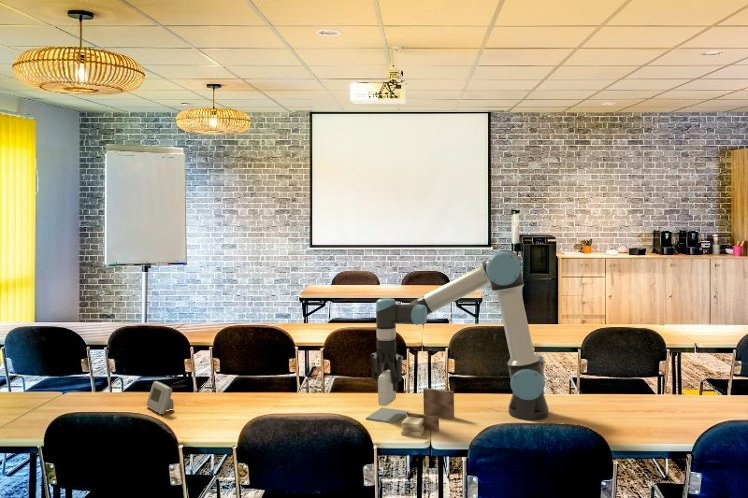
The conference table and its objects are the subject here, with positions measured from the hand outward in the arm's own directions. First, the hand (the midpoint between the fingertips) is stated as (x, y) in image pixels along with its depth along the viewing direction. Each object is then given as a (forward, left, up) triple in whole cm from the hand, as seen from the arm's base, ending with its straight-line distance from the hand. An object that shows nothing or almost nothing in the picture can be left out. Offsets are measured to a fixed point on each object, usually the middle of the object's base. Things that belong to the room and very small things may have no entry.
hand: (387, 398), depth 238 cm
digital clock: (+89, +30, -7) cm, 95 cm away
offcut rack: (-18, 0, -7) cm, 19 cm away
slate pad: (0, 0, -7) cm, 7 cm away
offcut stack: (-16, +13, -7) cm, 22 cm away
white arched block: (0, 0, -2) cm, 2 cm away
